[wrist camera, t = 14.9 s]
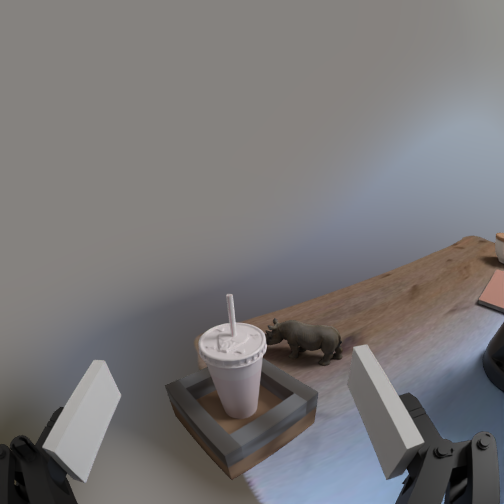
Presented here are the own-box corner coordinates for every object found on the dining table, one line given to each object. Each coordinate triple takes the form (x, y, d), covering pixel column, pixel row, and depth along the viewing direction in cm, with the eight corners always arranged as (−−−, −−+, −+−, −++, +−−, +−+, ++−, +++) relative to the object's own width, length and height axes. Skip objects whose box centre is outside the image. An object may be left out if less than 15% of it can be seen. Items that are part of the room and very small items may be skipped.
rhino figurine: (265, 338, 47) (263, 308, 45) (343, 353, 40) (348, 321, 39) (254, 351, 43) (251, 320, 41) (338, 369, 37) (342, 336, 35)
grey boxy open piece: (250, 377, 37) (247, 347, 35) (314, 422, 28) (318, 392, 26) (175, 415, 30) (164, 385, 28) (231, 480, 21) (224, 455, 19)
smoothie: (275, 393, 30) (272, 285, 26) (259, 433, 24) (250, 321, 20) (225, 384, 32) (210, 281, 28) (202, 419, 26) (175, 310, 22)
